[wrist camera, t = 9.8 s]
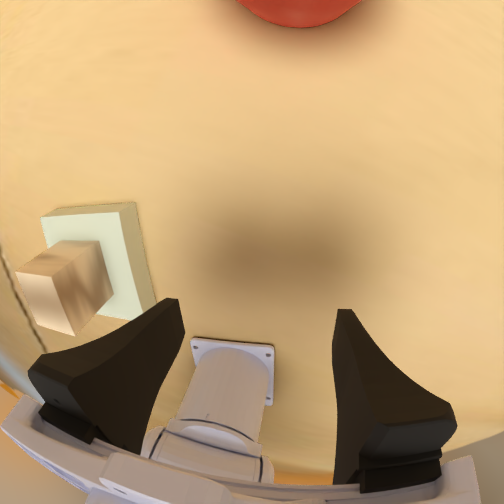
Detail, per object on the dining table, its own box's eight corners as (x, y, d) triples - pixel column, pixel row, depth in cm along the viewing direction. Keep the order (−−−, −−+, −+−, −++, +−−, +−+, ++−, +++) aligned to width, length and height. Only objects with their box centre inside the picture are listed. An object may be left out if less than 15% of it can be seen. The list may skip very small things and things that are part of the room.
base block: (159, 303, 26) (145, 322, 23) (84, 293, 28) (69, 308, 25) (138, 200, 22) (118, 212, 19) (60, 207, 24) (39, 217, 21)
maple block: (114, 293, 23) (75, 336, 17) (75, 288, 23) (37, 324, 18) (99, 240, 21) (51, 276, 15) (60, 240, 21) (15, 271, 16)
